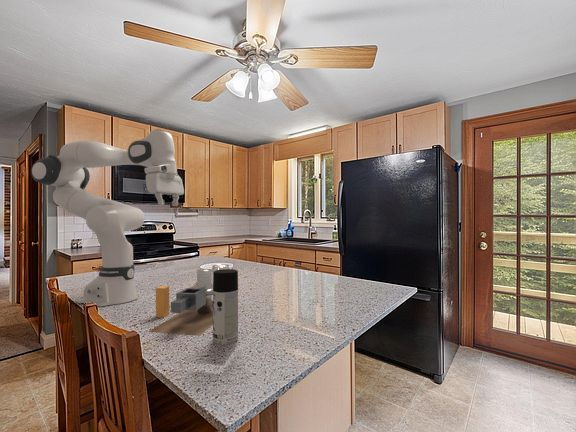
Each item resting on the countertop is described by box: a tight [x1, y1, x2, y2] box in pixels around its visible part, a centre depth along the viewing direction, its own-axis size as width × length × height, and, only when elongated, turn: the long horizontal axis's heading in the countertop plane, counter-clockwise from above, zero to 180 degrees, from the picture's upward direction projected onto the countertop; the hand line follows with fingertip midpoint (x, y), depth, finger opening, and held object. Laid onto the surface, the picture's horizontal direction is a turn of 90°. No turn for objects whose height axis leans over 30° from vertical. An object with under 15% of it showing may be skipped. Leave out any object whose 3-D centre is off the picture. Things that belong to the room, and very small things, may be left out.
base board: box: [148, 304, 213, 337], centre depth 97 cm, size 16×26×2 cm, turn 170°
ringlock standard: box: [170, 268, 213, 314], centre depth 97 cm, size 11×24×14 cm, turn 170°
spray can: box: [212, 268, 239, 346], centre depth 80 cm, size 7×7×20 cm
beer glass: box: [211, 263, 230, 285], centre depth 117 cm, size 7×7×15 cm
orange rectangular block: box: [155, 285, 170, 318], centre depth 99 cm, size 3×3×11 cm
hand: (168, 205), depth 118 cm, fingers open, 8 cm apart
